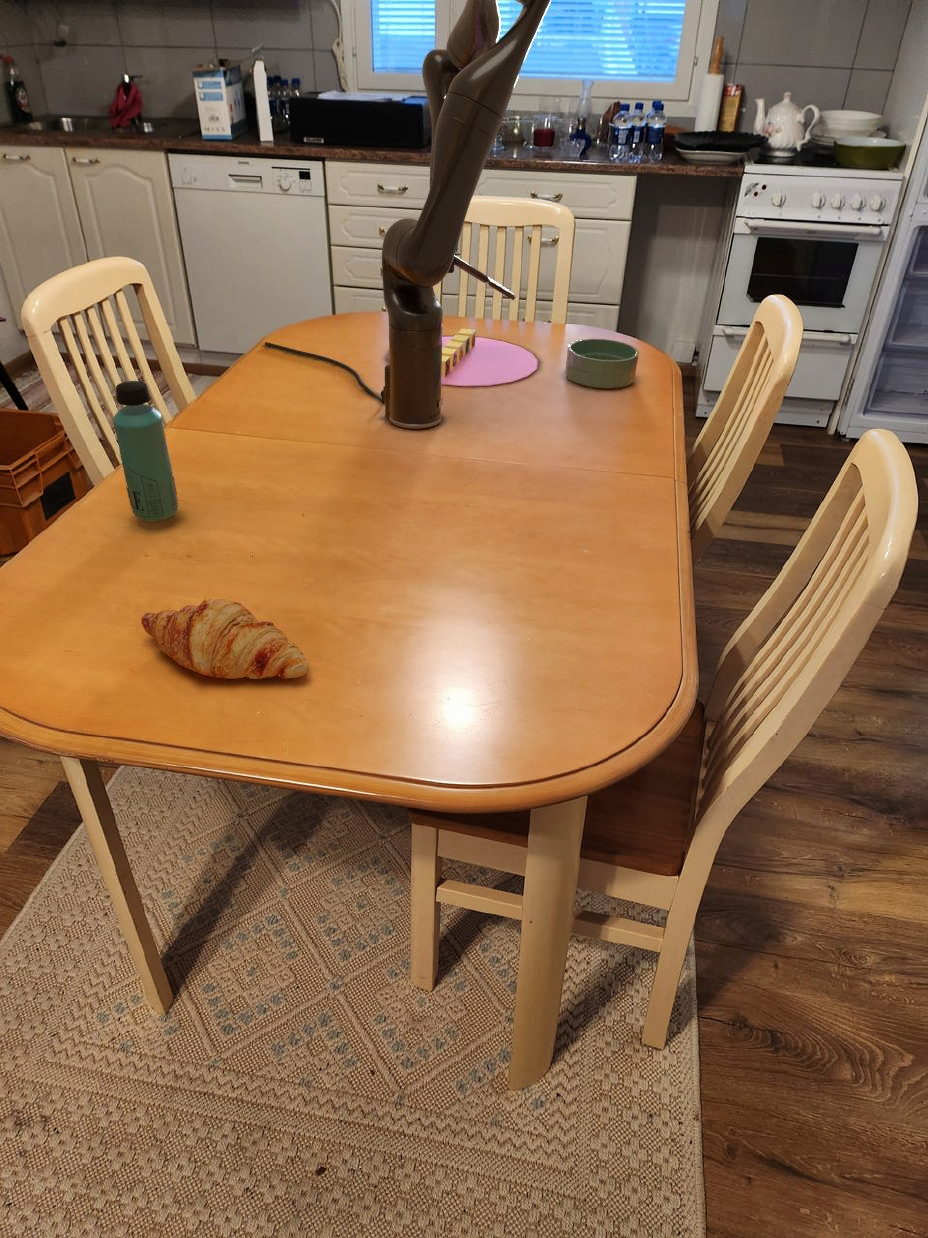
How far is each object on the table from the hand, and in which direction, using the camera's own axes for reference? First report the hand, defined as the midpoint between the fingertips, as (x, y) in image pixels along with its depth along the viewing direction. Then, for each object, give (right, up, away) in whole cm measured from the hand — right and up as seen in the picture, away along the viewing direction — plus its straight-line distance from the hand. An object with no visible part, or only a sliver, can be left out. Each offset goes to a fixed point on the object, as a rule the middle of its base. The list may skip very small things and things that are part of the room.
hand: (447, 270), depth 174 cm
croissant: (-24, -75, -76) cm, 109 cm away
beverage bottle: (-40, -56, -50) cm, 86 cm away
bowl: (+31, -20, +5) cm, 38 cm away
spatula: (+6, 0, +1) cm, 6 cm away
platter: (+3, -15, +11) cm, 19 cm away
